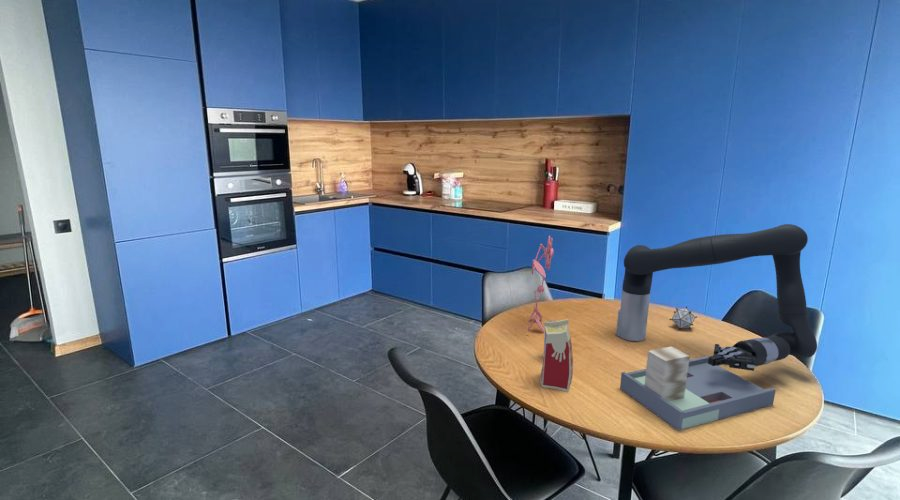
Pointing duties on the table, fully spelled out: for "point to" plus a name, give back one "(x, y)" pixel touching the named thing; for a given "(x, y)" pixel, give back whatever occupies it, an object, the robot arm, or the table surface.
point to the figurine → (536, 265)
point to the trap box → (700, 395)
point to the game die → (683, 318)
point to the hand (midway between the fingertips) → (710, 361)
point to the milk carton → (557, 357)
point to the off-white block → (667, 372)
